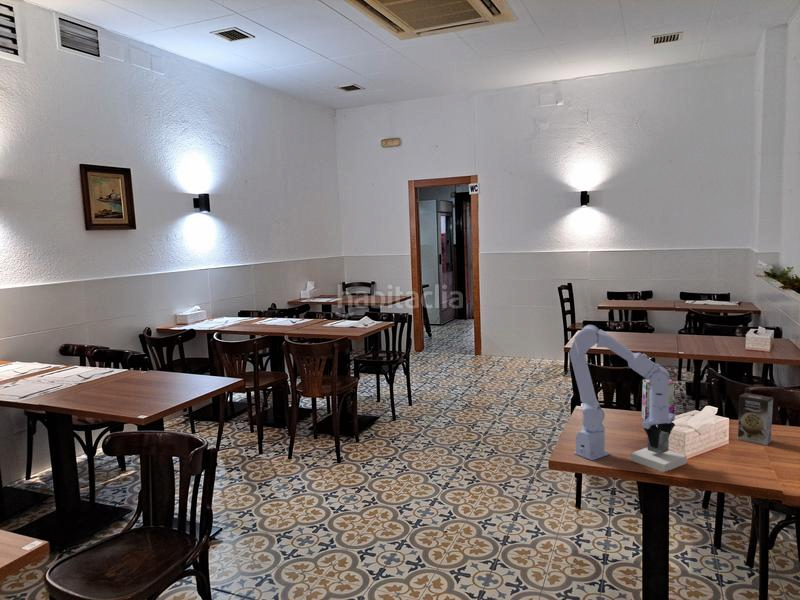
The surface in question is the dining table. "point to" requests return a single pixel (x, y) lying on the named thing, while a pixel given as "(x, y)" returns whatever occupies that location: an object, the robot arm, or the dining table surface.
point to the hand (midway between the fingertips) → (658, 445)
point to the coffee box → (755, 418)
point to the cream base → (659, 459)
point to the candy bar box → (646, 398)
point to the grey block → (661, 443)
